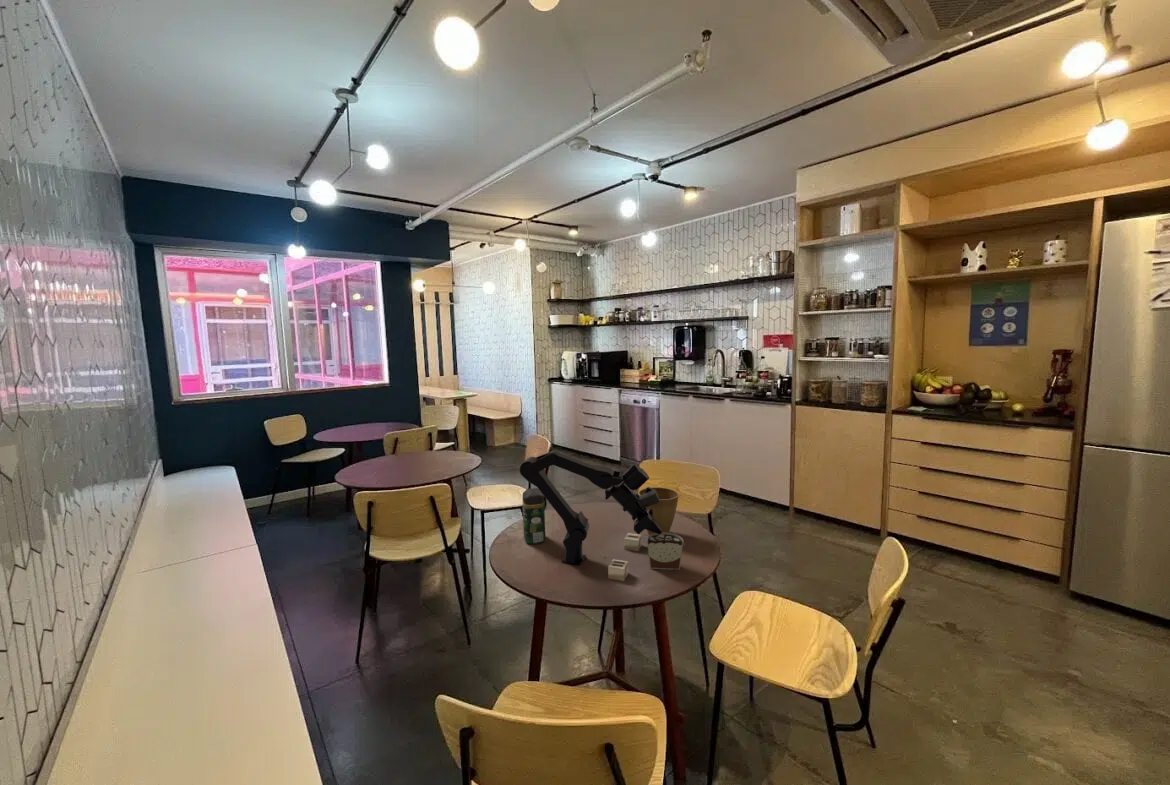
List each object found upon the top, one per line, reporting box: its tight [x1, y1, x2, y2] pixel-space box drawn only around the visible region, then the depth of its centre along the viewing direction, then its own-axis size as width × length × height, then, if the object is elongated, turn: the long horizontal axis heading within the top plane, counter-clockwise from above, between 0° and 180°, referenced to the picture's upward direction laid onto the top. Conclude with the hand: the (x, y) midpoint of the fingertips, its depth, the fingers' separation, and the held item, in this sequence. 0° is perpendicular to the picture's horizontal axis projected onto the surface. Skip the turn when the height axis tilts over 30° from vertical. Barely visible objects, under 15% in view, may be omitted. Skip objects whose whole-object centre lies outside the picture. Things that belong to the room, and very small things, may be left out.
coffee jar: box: [522, 487, 546, 545], centre depth 173 cm, size 10×8×19 cm
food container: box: [645, 532, 686, 571], centre depth 153 cm, size 12×6×10 cm, turn 84°
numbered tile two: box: [607, 559, 629, 582], centre depth 147 cm, size 5×5×4 cm
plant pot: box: [637, 486, 680, 536], centre depth 177 cm, size 15×15×16 cm
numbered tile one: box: [623, 532, 642, 552], centre depth 167 cm, size 5×5×4 cm
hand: (661, 533), depth 153 cm, fingers closed
